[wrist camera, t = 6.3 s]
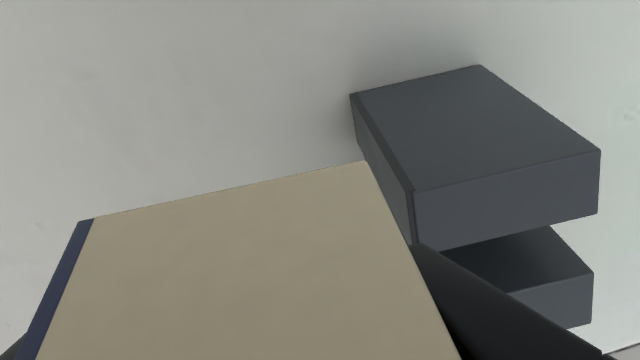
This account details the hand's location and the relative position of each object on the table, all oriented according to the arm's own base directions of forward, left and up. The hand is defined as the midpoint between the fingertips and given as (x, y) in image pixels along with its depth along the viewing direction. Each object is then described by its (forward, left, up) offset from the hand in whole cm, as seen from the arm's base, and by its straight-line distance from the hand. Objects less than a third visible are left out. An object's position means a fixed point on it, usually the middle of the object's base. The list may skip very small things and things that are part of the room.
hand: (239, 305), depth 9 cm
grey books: (+6, -5, -13) cm, 15 cm away
